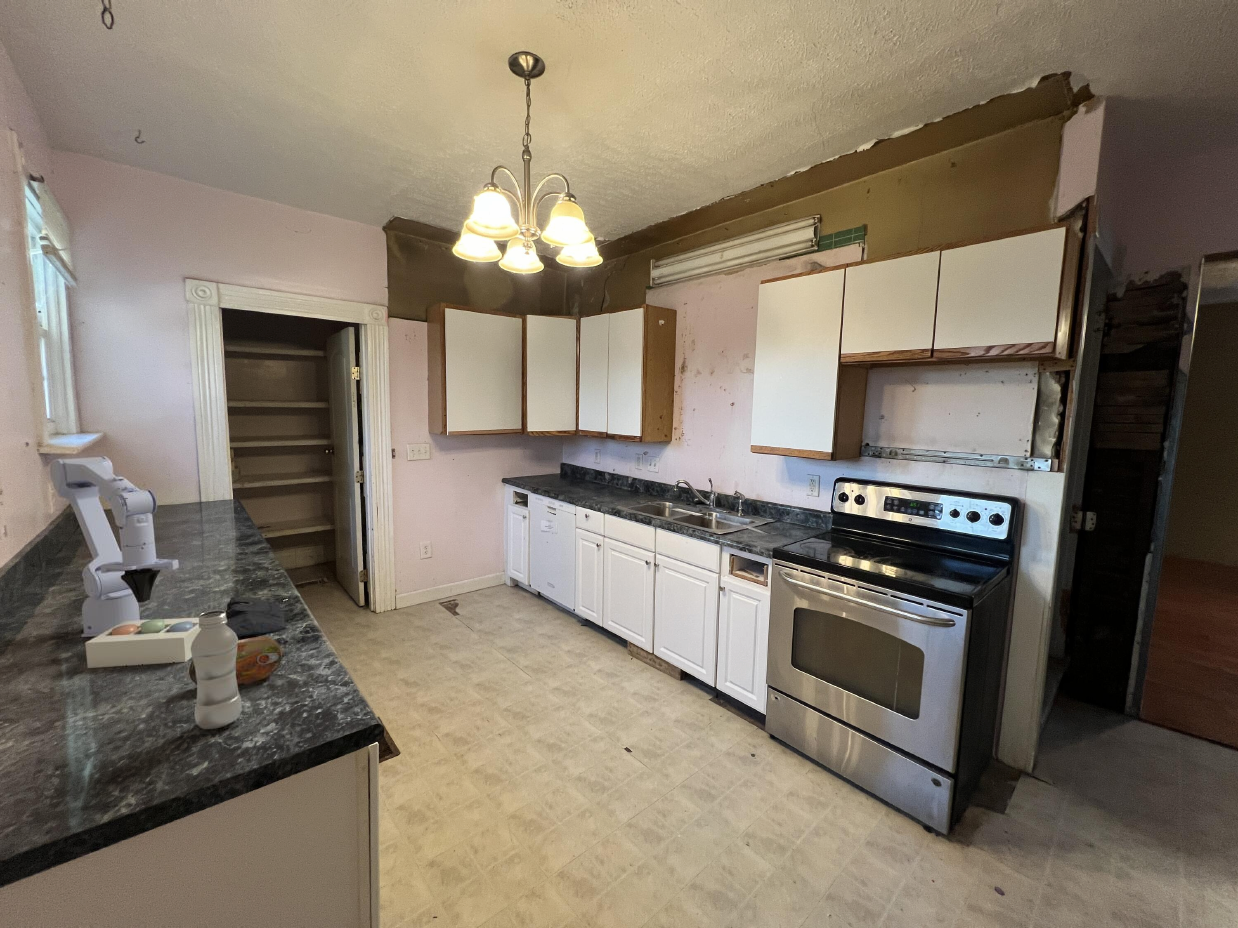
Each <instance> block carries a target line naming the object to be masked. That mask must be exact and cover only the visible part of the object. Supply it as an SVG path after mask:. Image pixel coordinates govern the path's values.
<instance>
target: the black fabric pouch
mask: <svg viewBox="0 0 1238 928" xmlns="http://www.w3.org/2000/svg"><path fill="white" fill-rule="evenodd" d="M224 611H225V612H226V618H227V623H226V626H228V627H229V628H230V629H232V630H233V631H234V632H235V633H236V635H237V638H240V637H246V636H254V635H255V636H256V635H262V634H270V633H276V632H279V631H280V632H281V631H282V630H285V629H287V625H286V621H285V616H284V613H283V611H282V609H281V605H280V603H279V602H275V601H268V600H263V599H261V598H257V597H250V596H248V597H247V596H246V597H244V596H231V598H230V599H229V601H228V602H227V604H226V610H224Z"/></svg>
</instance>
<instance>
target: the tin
mask: <svg viewBox="0 0 1238 928" xmlns="http://www.w3.org/2000/svg"><path fill="white" fill-rule="evenodd" d="M282 655H283V652H282V647H281V645H280V644H279V643H278V641H276V640H275V639H273V638H272V637H267V636H257V637H251V638H244V639H238V647H237V655H236V669H235V670H236V680H237V685H241V684H246V683H252V682H256V681H261V680H264V679H266V678H269V677H270V676H271V675H273V674H274V673H275V672H276V671H277V669H278V668H279V667H280V665H281V663H282ZM188 674H189V678H190V680H191V682H192V683H193V684H195V685H196V686H197V677H196V670H195V666H194V662H193V660H192V661H191V663H190V664H189V668H188Z"/></svg>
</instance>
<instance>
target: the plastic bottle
mask: <svg viewBox="0 0 1238 928" xmlns="http://www.w3.org/2000/svg"><path fill="white" fill-rule="evenodd" d="M225 611H226V610H222V609H220V610H219V609H215V610H210V611H206V612H203V613H201V614H199V615H198V618H199V628H201V630H200V632H199V633H198V634H197V636H196V637H195V639H194V640H193V642H192V645H191V654H192V657H191V659H192V661H193V662H194V666H195V670H196V677H197V685H196V704H195V706H194V714H193V715H194V720H195V722H196V723H195V724H196V726H198V727H200V728H201V729H203V730H214V729H219V728H223V727H225V726H228V725H230V724H232V723H234V722H235V721H236V720H237V719H238V718H239V716H240V715H241V712H242V706H243V702H242V698H241V694H240V691H239V687H238V684H237V680H236V670H235V669H236V655H237V647H238V640H239V637H237V635H236V633H235V632H234V631H233V630H232V629H230V628H229V627H228V626H226V623H227V618H226V612H225Z"/></svg>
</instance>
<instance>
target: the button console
mask: <svg viewBox="0 0 1238 928" xmlns="http://www.w3.org/2000/svg"><path fill="white" fill-rule="evenodd" d="M149 620H150V619H140V620H139V621H124V622H122V623H120V624H118V625H117V626H115V627H113V628H111V629H109V630H108V631H106V632H104V633H102V634H100V635H99V636H94V637H93V638H92V639H90V640H88V641H86V642H85V643H84V645H85V651H86V652H85V654H86V663H87V665H86V666H87V669H93V668H108V667H124V666H126V665H127V666H138V665H139V666H140V665H141V666H143V665H155V664H156V665H157V664H170V663H171V664H172V663H173V662H175V663H187V661H188V660H190V659H192V654H191V645H192V642H193V640H194V639H195V637H196V636H197V634H198V633H199V632H200V630H201V628H199V617H186V618H185V617H182V618H164V620H165V629H164V630H162V631H161V632H159V633H151V634H141V627H140V625H141V624H142V623H143V622H146V621H149ZM186 621H190V622H193V628H191V629H190V630H189V631H187V632H170V628H169V627H170V626H171V625H173V624H176V623H179V622H186ZM128 624H135V625H136V626H137V630H136V631H134V632H133V633H131V634H129V635H114V636H112V631H111V630H112V629H114V628H116V627H119V626H123V625H128ZM142 664H143V665H142Z"/></svg>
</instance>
